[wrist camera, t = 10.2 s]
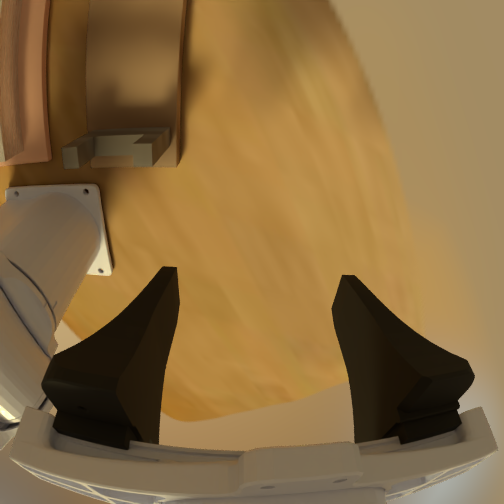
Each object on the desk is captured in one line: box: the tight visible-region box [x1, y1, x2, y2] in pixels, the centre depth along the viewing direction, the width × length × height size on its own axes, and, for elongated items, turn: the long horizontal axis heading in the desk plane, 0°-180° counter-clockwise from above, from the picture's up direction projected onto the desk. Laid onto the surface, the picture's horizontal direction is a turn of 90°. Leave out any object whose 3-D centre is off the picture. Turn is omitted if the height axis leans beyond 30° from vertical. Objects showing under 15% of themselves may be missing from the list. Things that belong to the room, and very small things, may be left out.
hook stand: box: [61, 0, 187, 169], centre depth 13 cm, size 17×6×5 cm, turn 176°
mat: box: [0, 0, 52, 166], centre depth 13 cm, size 7×18×1 cm, turn 176°
